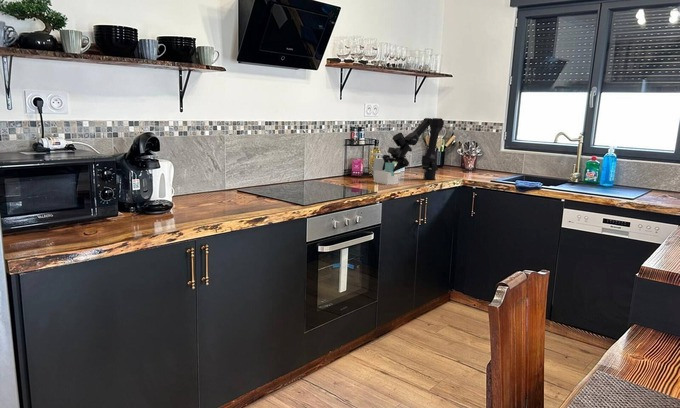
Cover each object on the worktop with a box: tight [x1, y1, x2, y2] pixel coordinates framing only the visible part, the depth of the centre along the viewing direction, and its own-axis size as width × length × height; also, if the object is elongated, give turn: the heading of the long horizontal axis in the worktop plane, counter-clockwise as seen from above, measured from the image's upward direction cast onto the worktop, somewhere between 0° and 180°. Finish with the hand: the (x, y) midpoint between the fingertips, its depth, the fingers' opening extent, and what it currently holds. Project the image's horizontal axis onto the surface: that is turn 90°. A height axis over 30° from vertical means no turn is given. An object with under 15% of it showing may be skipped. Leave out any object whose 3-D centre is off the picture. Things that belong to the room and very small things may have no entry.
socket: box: [373, 170, 400, 186], centre depth 305 cm, size 10×12×7 cm
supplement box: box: [372, 157, 385, 179], centre depth 328 cm, size 7×7×13 cm
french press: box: [370, 137, 383, 176], centre depth 340 cm, size 10×12×25 cm
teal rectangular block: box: [385, 162, 396, 176], centre depth 305 cm, size 6×4×12 cm
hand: (387, 170), depth 305 cm, fingers open, 9 cm apart
